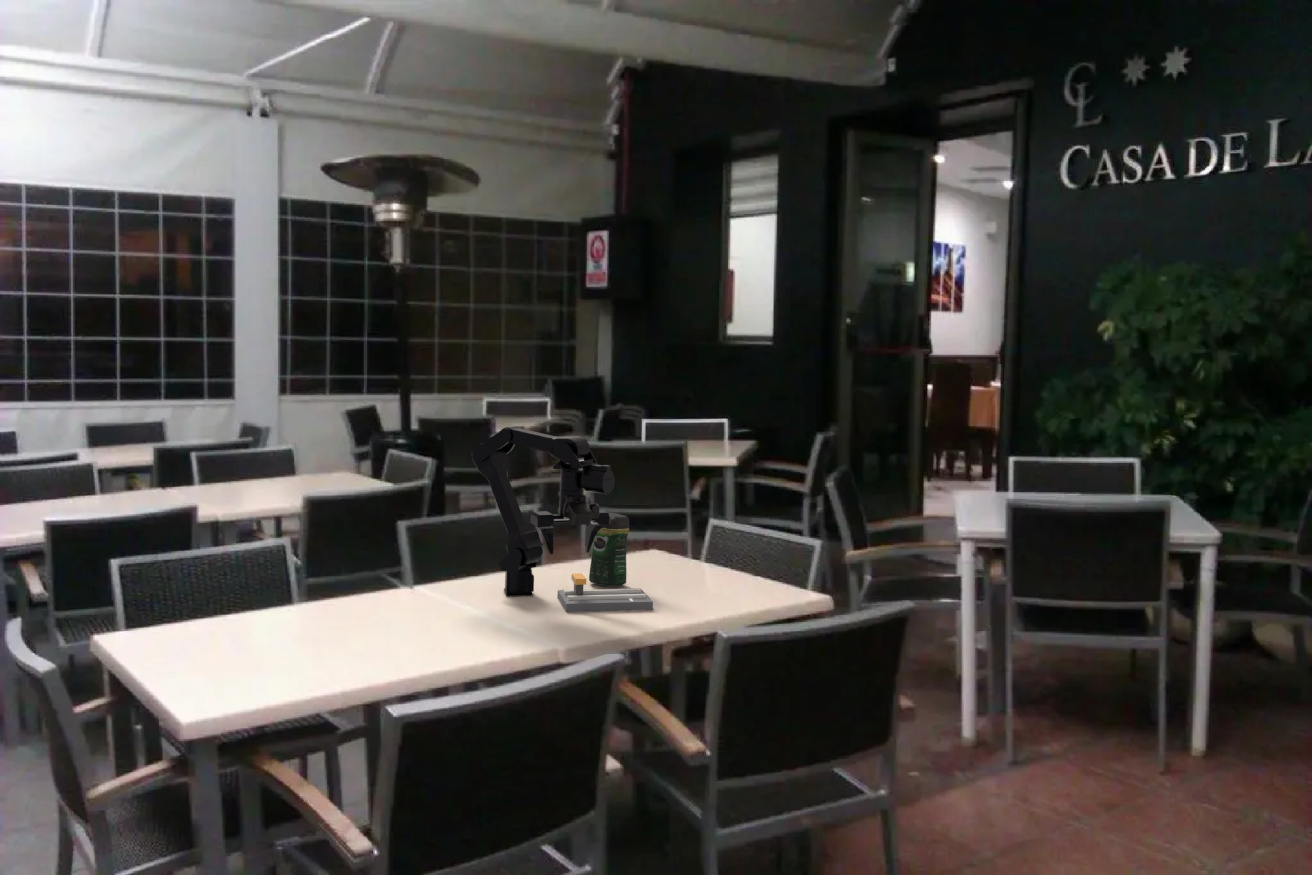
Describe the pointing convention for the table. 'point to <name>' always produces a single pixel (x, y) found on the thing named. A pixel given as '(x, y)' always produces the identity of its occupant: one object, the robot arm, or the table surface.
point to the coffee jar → (610, 553)
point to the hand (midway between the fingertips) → (569, 553)
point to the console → (605, 600)
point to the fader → (578, 583)
